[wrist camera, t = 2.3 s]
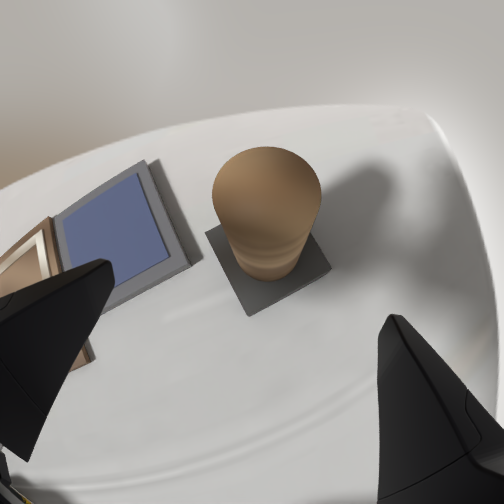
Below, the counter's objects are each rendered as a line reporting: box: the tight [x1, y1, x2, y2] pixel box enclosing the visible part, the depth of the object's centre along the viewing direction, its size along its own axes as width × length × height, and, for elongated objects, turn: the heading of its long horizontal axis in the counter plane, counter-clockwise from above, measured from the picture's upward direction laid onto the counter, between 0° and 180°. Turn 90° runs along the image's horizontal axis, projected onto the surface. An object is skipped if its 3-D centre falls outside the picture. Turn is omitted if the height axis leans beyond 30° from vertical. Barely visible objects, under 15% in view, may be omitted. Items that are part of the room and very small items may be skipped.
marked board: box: [0, 216, 91, 372], centre depth 19 cm, size 14×14×1 cm
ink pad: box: [54, 160, 191, 315], centre depth 20 cm, size 10×10×1 cm
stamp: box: [205, 147, 332, 317], centre depth 15 cm, size 6×6×10 cm
